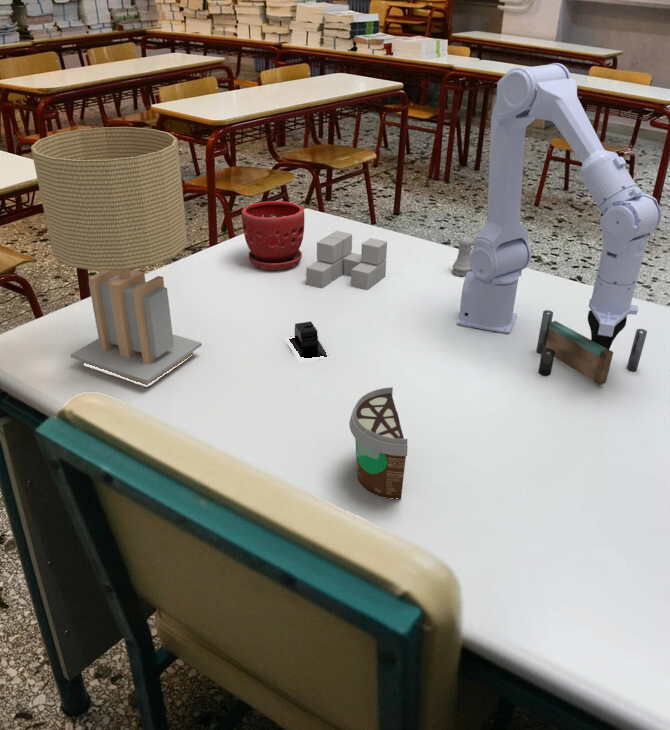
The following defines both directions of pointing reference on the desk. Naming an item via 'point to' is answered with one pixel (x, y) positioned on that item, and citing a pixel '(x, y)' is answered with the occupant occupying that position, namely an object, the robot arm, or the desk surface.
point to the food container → (379, 444)
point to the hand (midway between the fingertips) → (597, 355)
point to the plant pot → (273, 233)
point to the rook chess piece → (463, 257)
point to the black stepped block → (307, 341)
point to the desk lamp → (118, 238)
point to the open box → (579, 352)
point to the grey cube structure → (347, 261)
